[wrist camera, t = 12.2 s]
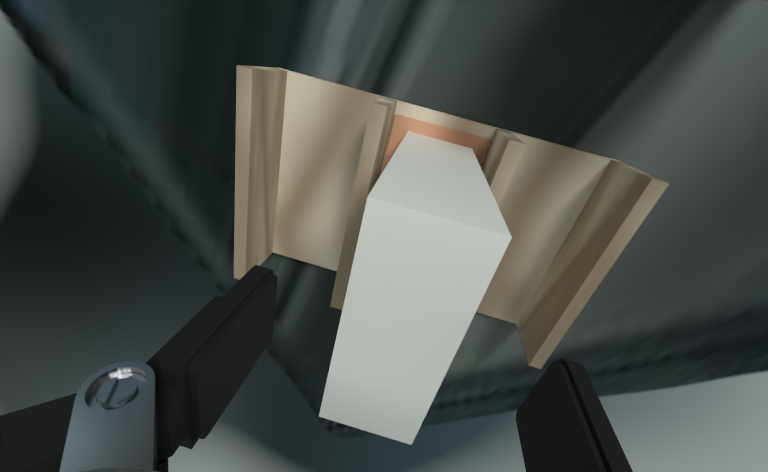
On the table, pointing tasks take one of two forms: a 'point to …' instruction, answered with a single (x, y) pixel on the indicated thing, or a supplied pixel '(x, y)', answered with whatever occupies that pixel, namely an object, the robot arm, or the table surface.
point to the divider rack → (367, 162)
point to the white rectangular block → (412, 286)
